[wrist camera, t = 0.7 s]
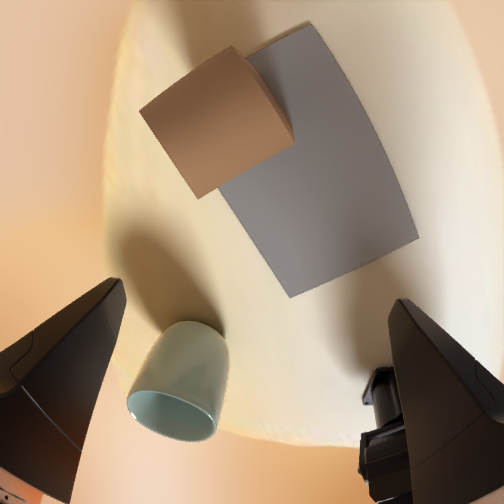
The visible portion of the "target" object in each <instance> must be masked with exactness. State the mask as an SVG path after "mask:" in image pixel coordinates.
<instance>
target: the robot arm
mask: <svg viewBox="0 0 504 504" xmlns="http://www.w3.org/2000/svg"><path fill="white" fill-rule="evenodd" d="M125 307H126V294H125V290H124V286H123V282H122V280H121V279H120V278H113V277H110V278H108V279H106V280H105V281H103V282H102V283H100V284H99V285H97V286H96V287H94V288H93V289H91V290H90V291H88V292H87V293H85V294H84V295H82V296H81V297H79V298H78V299H76V300H75V301H73V302H72V303H71V304H69V305H68V306H66V307H65V308H63V309H62V310H60V311H59V312H57V313H56V314H55V315H53V316H52V317H51V318H49V319H47V320H46V321H45V322H43V323H42V324H40V325H39V326H38V327H36V328H35V329H34V331H31V332H29V333H28V334H27V335H25V336H24V337H22V338H21V339H20V340H18V341H17V342H15V343H14V344H12V345H11V346H9V347H8V348H6V349H5V350H3V351H1V352H0V504H41V502H42V499H43V495H44V494H45V495H47V496H50V497H52V498H54V499H56V500H58V501H61V502H63V503H65V504H69V503H70V500H71V495H72V490H73V486H74V481H75V477H76V473H77V469H78V465H79V461H80V457H81V453H82V452H81V451H82V449H83V445H84V441H85V438H86V434H87V430H88V427H89V424H90V420H91V417H92V413H93V410H94V407H95V404H96V400H97V397H98V394H99V391H100V388H101V385H102V382H103V379H104V376H105V373H106V370H107V367H108V364H109V362H110V359H111V356H112V353H113V350H114V348H115V345H116V341H117V338H118V334H119V330H120V326H121V322H122V318H123V314H124V310H125ZM388 327H389V334H390V342H391V351H392V359H393V365H394V368H379V369H377V370H376V371H375V373H374V375H373V377H372V380H371V382H370V385H369V387H368V389H367V392H366V394H365V396H364V398H363V401H362V402H363V405H373V407H374V412H375V419H376V425H377V429H375V430H373V431H370V432H364V433H361V440H360V456H359V467H358V473H359V474H361V475H362V476H363V479H364V481H365V483H366V484H367V485H369V495H370V496H371V498H372V499H373V500H374V501H375V502H376V503H378V504H504V384H503V383H501V382H500V381H499V380H498V379H497V378H496V377H494V376H493V375H492V374H491V373H490V372H489V371H488V370H487V369H486V368H485V367H483V366H482V365H481V364H480V363H479V362H478V361H477V360H475V358H474V357H473V356H472V355H471V354H470V353H469V352H468V351H467V350H465V349H464V348H463V347H462V346H461V345H460V344H459V343H458V342H457V341H456V340H455V339H453V338H452V337H451V336H450V335H449V334H448V333H447V332H446V331H445V330H443V329H442V328H441V327H440V326H439V325H438V324H437V323H436V322H434V321H433V320H432V319H431V318H430V317H429V316H428V315H427V314H425V313H424V312H423V311H422V310H421V309H420V308H418V307H417V306H416V305H415V304H414V303H413V302H411V301H410V300H409V299H397V300H396V301H395V303H394V306H393V308H392V310H391V312H390V314H389V317H388Z"/></svg>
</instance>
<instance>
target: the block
mask: <svg viewBox="0 0 504 504" xmlns="http://www.w3.org/2000/svg"><path fill="white" fill-rule="evenodd" d="M139 112H140V114H141V115H142V117H143V118H144V120H145V121H146V123H147V124H148V126H149V127H150V129H151V130H152V132H153V133H154V135H155V136H156V138H157V139H158V141H159V142H160V144H161V145H162V147H163V148H164V150H165V151H166V153H167V154H168V156H169V157H170V159H171V160H172V162H173V163H174V165H175V166H176V168H177V169H178V171H179V172H180V174H181V175H182V177H183V178H184V180H185V181H186V183H187V184H188V186H189V187H190V189H191V190H192V192H193V193H194V195H195V196H196V197H197V199H200V198H201V197H203V196H204V195H206V194H208V193H209V192H211V191H213V190H214V189H216V188H218V187H219V186H221V185H223V184H224V183H226V182H228V181H229V180H231V179H233V178H234V177H236V176H238V175H240V174H241V173H243V172H245V171H246V170H248V169H250V168H252V167H253V166H255V165H257V164H259V163H260V162H262V161H264V160H266V159H268V158H269V157H271V156H273V155H275V154H277V153H278V152H280V151H282V150H284V149H286V148H288V147H289V146H291V145H293V144H295V139H294V133H293V127H292V124H291V122H290V121H289V119H288V117H287V116H286V114H285V112H284V111H283V109H282V108H281V106H280V104H279V103H278V101H277V100H276V98H275V97H274V95H273V93H272V92H271V90H270V89H269V87H268V86H267V84H266V83H265V81H264V80H263V78H262V77H261V75H260V74H259V72H258V71H257V70H256V69H255V68H254V67H253V66H252V65H251V64H250V63H249V62H248V61H247V60H246V59H245V58H244V57H243V56H242V55H241V54H240V53H239V52H238V51H237V50H236V49H235V48H234V47H233V46H230V47H228V48H227V49H225V50H223V51H222V52H220V53H219V54H217V55H215V56H214V57H212V58H211V59H209V60H208V61H206V62H205V63H203V64H202V65H200V66H199V67H197V68H196V69H194V70H193V71H191V72H190V73H188V74H187V75H185V76H184V77H183V78H181V79H180V80H178V81H177V82H176V83H174V84H173V85H172V86H170V87H169V88H168V89H166V90H165V91H164V92H162V93H161V94H160V95H158V96H157V97H156V98H154V99H153V100H152V101H151V102H149V103H148V104H147V105H146V106H144V107H143V108H142V109H141V110H139Z"/></svg>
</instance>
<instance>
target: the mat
mask: <svg viewBox="0 0 504 504" xmlns="http://www.w3.org/2000/svg"><path fill="white" fill-rule="evenodd" d="M245 59H246V60H247V61H248V62H249V63H250V64H251V65H252V66H253V67H254V68H255V69H256V70H257V71H258V72H259V74H260V75H261V77H262V78H263V80H264V81H265V83H266V84H267V86H268V87H269V89H270V90H271V92H272V93H273V95H274V97H275V98H276V100H277V101H278V103H279V104H280V106H281V108H282V109H283V111H284V112H285V114H286V116H287V117H288V119H289V121H290V122H291V124H292V127H293V133H294V139H295V144H293V145H291V146H289V147H288V148H286V149H284V150H282V151H280V152H278V153H277V154H275V155H273V156H271V157H269V158H268V159H266V160H264V161H262V162H260V163H259V164H257V165H255V166H253V167H252V168H250V169H248V170H246V171H245V172H243V173H241V174H240V175H238V176H236V177H234V178H233V179H231V180H229V181H228V182H226V183H224V184H223V185H221V186H219V187H218V189H219V191H220V192H221V194H222V195H223V197H224V199H225V200H226V202H227V203H228V205H229V206H230V208H231V209H232V211H233V212H234V214H235V215H236V217H237V218H238V220H239V221H240V223H241V224H242V226H243V227H244V229H245V230H246V232H247V233H248V235H249V237H250V238H251V240H252V241H253V243H254V244H255V246H256V247H257V249H258V250H259V252H260V253H261V255H262V256H263V258H264V259H265V261H266V262H267V264H268V266H269V267H270V269H271V270H272V272H273V273H274V275H275V276H276V278H277V279H278V281H279V282H280V284H281V285H282V287H283V289H284V290H285V292H286V293H287V295H288V296H289V298H292V297H294V296H297V295H299V294H301V293H304V292H306V291H308V290H311V289H313V288H315V287H317V286H320V285H322V284H324V283H326V282H328V281H331V280H333V279H335V278H337V277H339V276H342V275H344V274H346V273H348V272H350V271H352V270H355V269H357V268H359V267H361V266H363V265H365V264H367V263H369V262H372V261H374V260H376V259H378V258H380V257H382V256H384V255H386V254H388V253H390V252H392V251H394V250H396V249H398V248H400V247H402V246H404V245H406V244H408V243H410V242H412V241H414V240H416V239H418V238H419V236H418V233H417V230H416V227H415V225H414V222H413V219H412V216H411V213H410V211H409V208H408V205H407V203H406V200H405V198H404V195H403V193H402V190H401V188H400V185H399V183H398V180H397V178H396V175H395V173H394V171H393V168H392V166H391V164H390V162H389V159H388V157H387V155H386V153H385V151H384V148H383V146H382V144H381V142H380V140H379V138H378V136H377V134H376V132H375V130H374V128H373V126H372V124H371V122H370V120H369V118H368V116H367V114H366V112H365V110H364V108H363V106H362V105H361V103H360V101H359V99H358V97H357V95H356V94H355V92H354V90H353V88H352V87H351V85H350V83H349V81H348V80H347V78H346V76H345V75H344V73H343V71H342V70H341V68H340V66H339V65H338V63H337V61H336V60H335V58H334V57H333V55H332V53H331V52H330V50H329V49H328V47H327V46H326V44H325V43H324V41H323V40H322V38H321V37H320V35H319V34H318V32H317V31H316V29H315V28H314V27H313V25H312V24H311V25H309V26H307V27H304V28H302V29H300V30H298V31H296V32H294V33H292V34H290V35H288V36H286V37H284V38H282V39H280V40H278V41H276V42H274V43H272V44H271V45H269V46H267V47H265V48H263V49H261V50H259V51H258V52H256V53H254V54H252V55H251V56H249V57H247V58H245Z"/></svg>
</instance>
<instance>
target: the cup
mask: <svg viewBox="0 0 504 504" xmlns="http://www.w3.org/2000/svg"><path fill="white" fill-rule="evenodd" d="M229 372H230V354H229V348H228V345H227V343H226V341H225V339H224V338H223V337H222V335H221V334H219V333H218V332H217V331H216V330H215V329H213V328H212V327H210V326H208V325H206V324H203V323H200V322H196V321H180V322H177V323H175V324H173V325H171V326H170V327H168V328H167V329H166V330H165V331H164V332H163V333H162V334H161V335H160V336H159V337H158V339H157V340H156V341H155V343H154V344H153V346H152V347H151V349H150V351H149V353H148V354H147V356H146V358H145V360H144V362H143V364H142V366H141V368H140V370H139V372H138V374H137V376H136V378H135V380H134V382H133V384H132V386H131V389H130V391H129V394H128V396H127V407H128V410H129V412H130V413H131V415H132V416H133V417H134V418H135V420H137V421H138V422H139V423H140V424H142V425H143V426H145V427H146V428H148V429H150V430H152V431H154V432H156V433H158V434H160V435H163V436H165V437H168V438H172V439H175V440H179V441H185V442H200V441H204V440H207V439H209V438H210V437H212V436H213V435H214V434H215V432H216V430H217V429H218V426H219V422H220V418H221V414H222V410H223V405H224V401H225V396H226V391H227V385H228V379H229Z"/></svg>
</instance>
